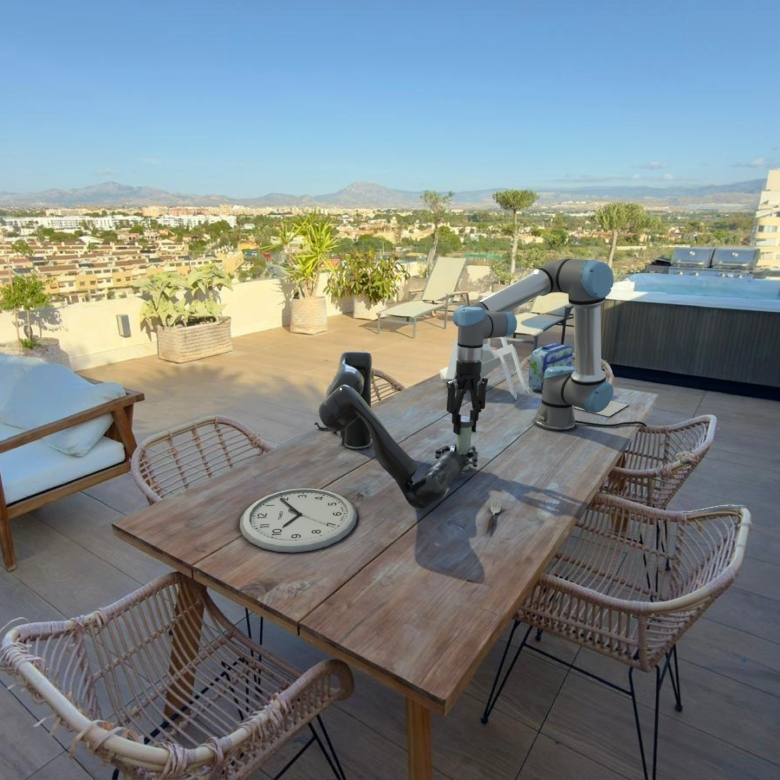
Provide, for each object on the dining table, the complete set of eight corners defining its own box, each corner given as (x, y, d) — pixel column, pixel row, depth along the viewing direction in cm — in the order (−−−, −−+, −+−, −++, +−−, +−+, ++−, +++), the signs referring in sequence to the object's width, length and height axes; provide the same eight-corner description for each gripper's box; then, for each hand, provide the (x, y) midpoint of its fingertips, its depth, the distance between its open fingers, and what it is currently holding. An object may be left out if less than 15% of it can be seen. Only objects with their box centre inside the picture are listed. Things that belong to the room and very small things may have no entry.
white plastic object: (461, 429, 252) (437, 405, 227) (444, 352, 274) (420, 323, 250) (535, 404, 240) (518, 377, 215) (510, 326, 262) (492, 293, 237)
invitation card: (608, 416, 214) (573, 407, 224) (608, 416, 214) (573, 408, 224) (628, 404, 229) (594, 396, 238) (628, 405, 229) (594, 397, 238)
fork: (481, 533, 130) (482, 526, 130) (492, 503, 145) (493, 497, 144) (492, 535, 130) (492, 528, 129) (501, 505, 144) (502, 499, 143)
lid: (466, 420, 166) (466, 415, 165) (477, 425, 161) (477, 420, 161) (452, 422, 163) (453, 417, 163) (463, 428, 159) (463, 423, 158)
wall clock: (358, 544, 122) (227, 548, 120) (358, 550, 123) (228, 554, 120) (355, 484, 151) (250, 486, 148) (355, 489, 151) (250, 491, 149)
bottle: (470, 466, 168) (473, 419, 163) (467, 471, 164) (470, 423, 159) (457, 463, 169) (459, 417, 164) (454, 469, 165) (456, 422, 161)
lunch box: (544, 395, 239) (549, 351, 233) (524, 390, 247) (528, 347, 240) (571, 384, 257) (577, 343, 251) (552, 380, 264) (556, 339, 258)
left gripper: (471, 461, 148) (488, 440, 163) (425, 451, 155) (445, 432, 169) (469, 484, 151) (486, 462, 165) (424, 474, 157) (444, 453, 171)
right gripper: (486, 354, 163) (481, 424, 170) (436, 359, 156) (433, 432, 163) (501, 359, 157) (495, 432, 164) (449, 365, 149) (445, 440, 156)
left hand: (465, 447), depth 167 cm, fingers closed on bottle, 4 cm apart
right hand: (464, 431), depth 163 cm, fingers closed on lid, 5 cm apart
